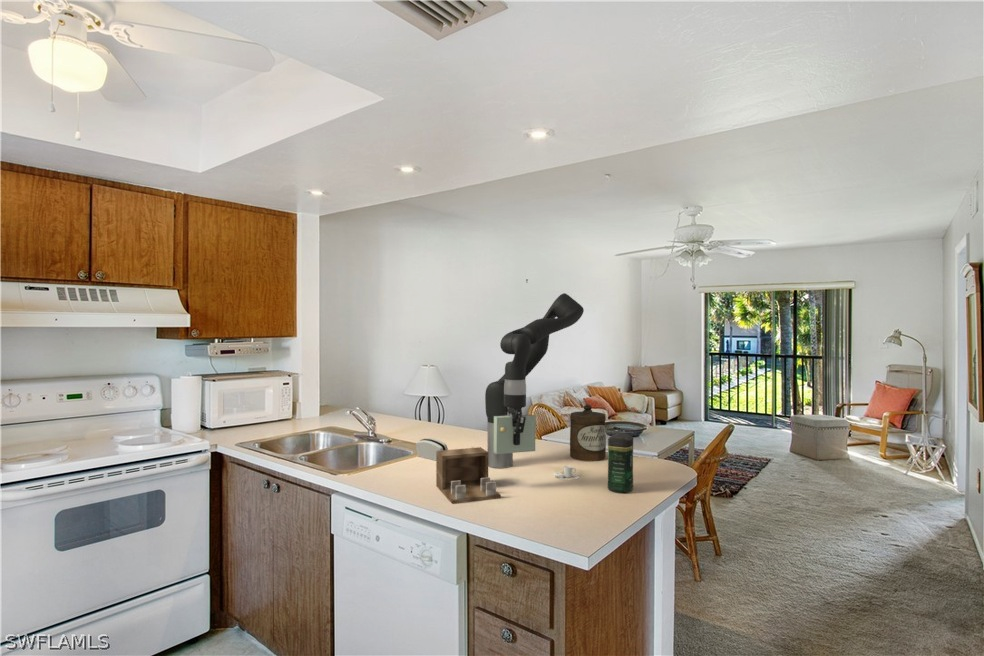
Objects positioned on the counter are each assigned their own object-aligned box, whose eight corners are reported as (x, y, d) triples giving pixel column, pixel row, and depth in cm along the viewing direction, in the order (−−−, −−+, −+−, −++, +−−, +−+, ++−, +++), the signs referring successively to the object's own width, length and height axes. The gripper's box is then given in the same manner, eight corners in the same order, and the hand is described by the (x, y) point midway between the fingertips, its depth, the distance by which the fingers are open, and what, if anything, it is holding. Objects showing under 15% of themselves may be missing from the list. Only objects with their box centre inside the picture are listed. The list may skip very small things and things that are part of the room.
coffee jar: (629, 495, 169) (629, 437, 169) (605, 491, 172) (605, 435, 172) (635, 487, 177) (635, 432, 177) (612, 484, 181) (612, 430, 181)
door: (531, 449, 180) (532, 414, 180) (536, 451, 176) (537, 416, 176) (493, 452, 176) (493, 416, 176) (497, 454, 172) (498, 418, 172)
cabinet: (480, 481, 184) (480, 447, 184) (500, 497, 166) (500, 460, 166) (436, 486, 178) (436, 450, 178) (452, 503, 160) (452, 464, 160)
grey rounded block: (454, 460, 213) (448, 439, 210) (446, 467, 209) (440, 444, 207) (426, 454, 224) (420, 433, 221) (418, 460, 220) (412, 439, 218)
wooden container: (582, 462, 210) (582, 408, 210) (563, 454, 223) (563, 403, 223) (613, 459, 216) (613, 406, 216) (592, 451, 229) (592, 401, 229)
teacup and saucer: (552, 479, 188) (552, 468, 188) (557, 473, 195) (557, 463, 195) (576, 482, 185) (576, 470, 185) (581, 476, 192) (581, 465, 192)
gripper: (533, 394, 171) (533, 447, 171) (517, 390, 185) (517, 438, 184) (512, 395, 169) (511, 449, 169) (497, 390, 182) (497, 440, 182)
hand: (514, 443), depth 177 cm, fingers closed on door, 3 cm apart
